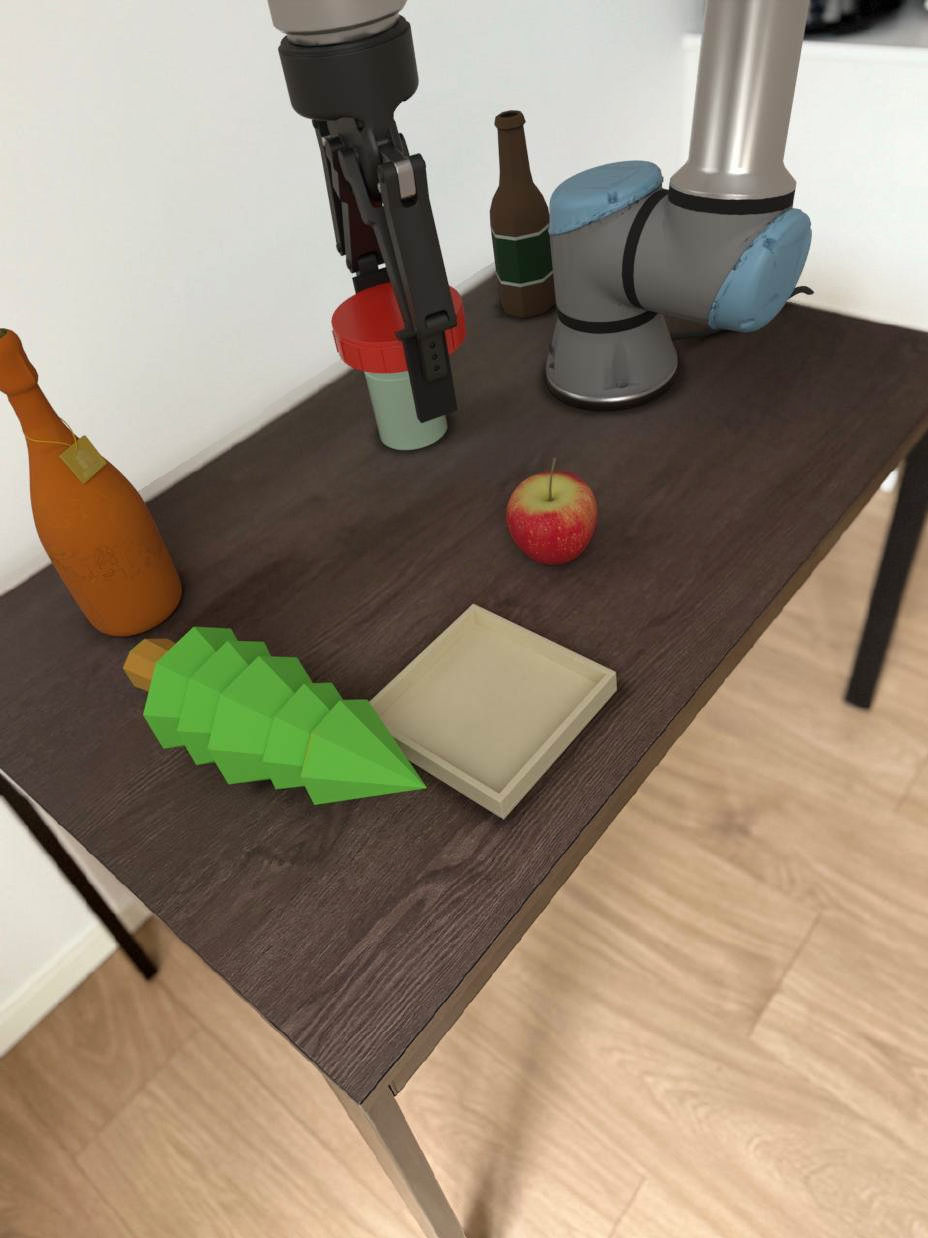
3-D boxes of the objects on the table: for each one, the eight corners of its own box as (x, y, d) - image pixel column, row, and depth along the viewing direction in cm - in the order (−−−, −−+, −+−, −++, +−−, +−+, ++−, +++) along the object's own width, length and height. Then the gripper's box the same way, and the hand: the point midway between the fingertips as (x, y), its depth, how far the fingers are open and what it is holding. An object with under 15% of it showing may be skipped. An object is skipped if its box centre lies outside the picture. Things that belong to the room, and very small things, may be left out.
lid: (466, 302, 69) (462, 271, 67) (466, 364, 62) (461, 332, 61) (344, 317, 69) (337, 288, 68) (332, 380, 63) (324, 350, 61)
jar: (411, 404, 115) (393, 320, 107) (461, 421, 111) (446, 335, 103) (365, 438, 111) (344, 353, 103) (415, 457, 107) (397, 370, 99)
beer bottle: (553, 318, 125) (536, 122, 108) (495, 320, 127) (470, 128, 110) (560, 289, 130) (546, 99, 113) (505, 292, 132) (482, 105, 115)
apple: (612, 533, 93) (608, 448, 86) (577, 590, 88) (570, 505, 81) (535, 517, 96) (526, 434, 89) (498, 570, 91) (485, 487, 84)
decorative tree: (136, 579, 79) (429, 691, 64) (217, 634, 88) (488, 743, 73) (62, 701, 76) (351, 849, 61) (154, 745, 85) (423, 882, 70)
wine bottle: (101, 658, 91) (-66, 381, 70) (82, 599, 97) (-76, 331, 76) (198, 615, 93) (65, 335, 72) (173, 561, 100) (44, 290, 79)
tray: (476, 621, 87) (473, 603, 85) (617, 690, 79) (616, 671, 77) (361, 731, 80) (355, 713, 78) (503, 820, 71) (500, 802, 70)
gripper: (231, 10, 59) (318, 340, 75) (338, 81, 44) (419, 476, 60) (344, -18, 61) (406, 311, 76) (484, 42, 46) (526, 437, 61)
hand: (411, 384), depth 68 cm, fingers closed on lid, 9 cm apart
